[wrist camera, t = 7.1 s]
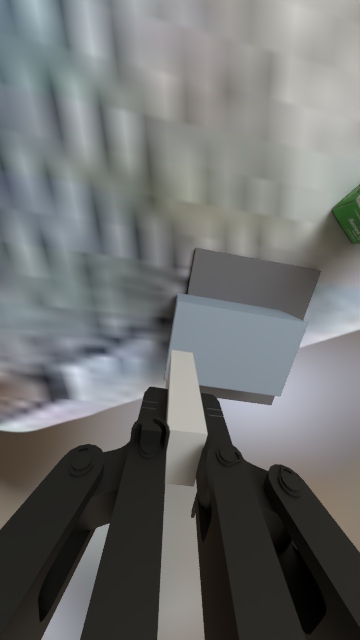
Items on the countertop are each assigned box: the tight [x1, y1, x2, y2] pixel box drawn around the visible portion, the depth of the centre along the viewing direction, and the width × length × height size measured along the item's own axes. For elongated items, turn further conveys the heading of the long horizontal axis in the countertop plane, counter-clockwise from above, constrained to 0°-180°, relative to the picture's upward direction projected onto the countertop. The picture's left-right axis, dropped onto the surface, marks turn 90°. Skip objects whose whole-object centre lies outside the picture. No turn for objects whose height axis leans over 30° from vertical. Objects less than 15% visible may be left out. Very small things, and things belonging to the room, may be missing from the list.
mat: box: [187, 248, 321, 405], centre depth 23 cm, size 14×18×1 cm
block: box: [164, 293, 308, 396], centre depth 20 cm, size 5×8×12 cm
